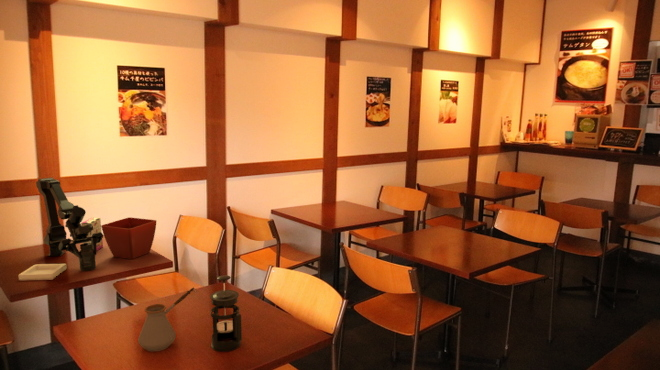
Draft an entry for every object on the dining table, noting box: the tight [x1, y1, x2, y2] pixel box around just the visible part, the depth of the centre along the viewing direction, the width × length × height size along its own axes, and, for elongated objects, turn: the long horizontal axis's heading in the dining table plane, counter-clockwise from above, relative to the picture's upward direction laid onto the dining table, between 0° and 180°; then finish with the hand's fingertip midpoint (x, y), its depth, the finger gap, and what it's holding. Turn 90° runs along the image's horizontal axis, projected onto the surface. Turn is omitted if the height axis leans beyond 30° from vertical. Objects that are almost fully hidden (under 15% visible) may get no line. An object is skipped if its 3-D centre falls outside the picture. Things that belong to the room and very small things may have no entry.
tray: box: [18, 263, 68, 281], centre depth 220 cm, size 14×14×2 cm
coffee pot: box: [137, 287, 198, 353], centre depth 159 cm, size 21×12×15 cm, turn 143°
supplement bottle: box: [78, 243, 97, 272], centre depth 227 cm, size 7×7×12 cm
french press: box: [209, 274, 243, 353], centre depth 155 cm, size 12×9×23 cm
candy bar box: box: [80, 217, 104, 252], centre depth 255 cm, size 11×5×16 cm, turn 179°
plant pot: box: [101, 217, 157, 260], centre depth 248 cm, size 19×19×17 cm
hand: (88, 256), depth 226 cm, fingers closed on supplement bottle, 7 cm apart
